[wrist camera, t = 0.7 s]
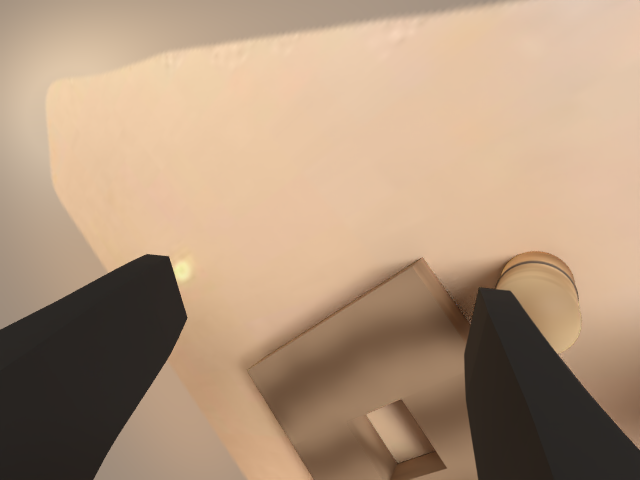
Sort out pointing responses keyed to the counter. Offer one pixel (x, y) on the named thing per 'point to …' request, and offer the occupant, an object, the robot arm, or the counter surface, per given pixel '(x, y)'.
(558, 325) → the oak peg
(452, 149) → the counter surface
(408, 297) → the hole board
